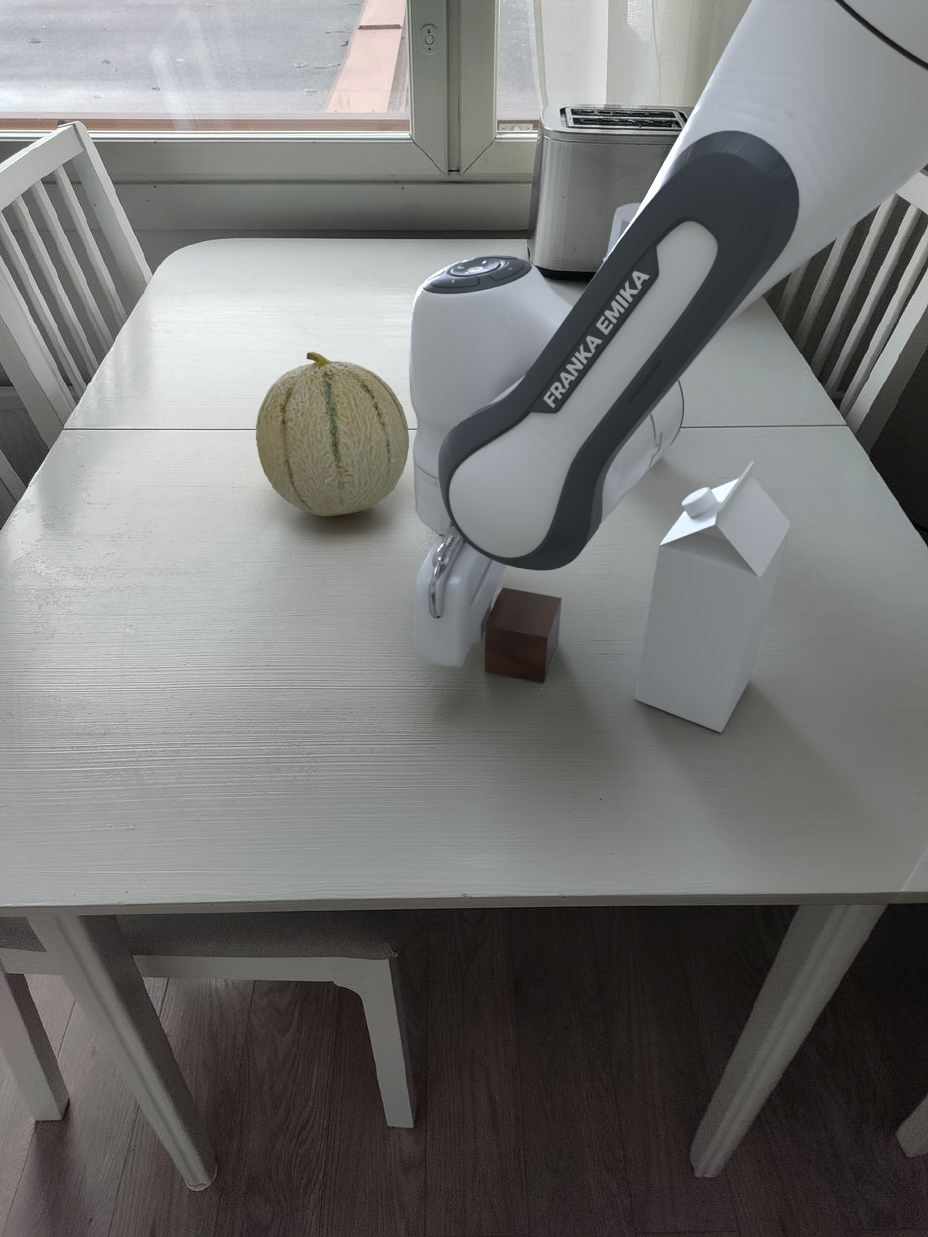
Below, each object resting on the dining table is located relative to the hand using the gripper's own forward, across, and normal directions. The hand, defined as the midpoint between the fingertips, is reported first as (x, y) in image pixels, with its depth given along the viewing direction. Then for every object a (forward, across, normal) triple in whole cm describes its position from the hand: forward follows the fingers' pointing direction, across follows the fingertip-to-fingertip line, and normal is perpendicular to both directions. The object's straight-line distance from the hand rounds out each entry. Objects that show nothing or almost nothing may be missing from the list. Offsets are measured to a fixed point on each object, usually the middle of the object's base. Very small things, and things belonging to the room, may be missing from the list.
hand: (475, 631), depth 78 cm
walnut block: (+2, 0, -4) cm, 4 cm away
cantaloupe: (+2, +17, +19) cm, 26 cm away
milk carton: (+2, 0, -18) cm, 18 cm away
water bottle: (+2, +35, -7) cm, 36 cm away
